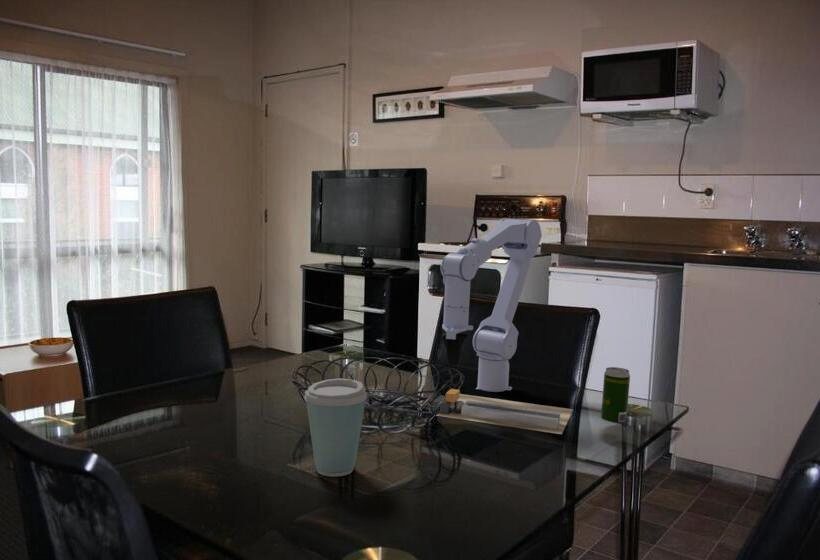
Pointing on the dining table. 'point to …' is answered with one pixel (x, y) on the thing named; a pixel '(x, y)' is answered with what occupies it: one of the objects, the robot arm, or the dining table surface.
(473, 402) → the bar
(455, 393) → the block
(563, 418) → the board
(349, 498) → the dining table surface
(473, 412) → the tongs frame
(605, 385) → the beer can
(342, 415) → the disposable coffee cup
